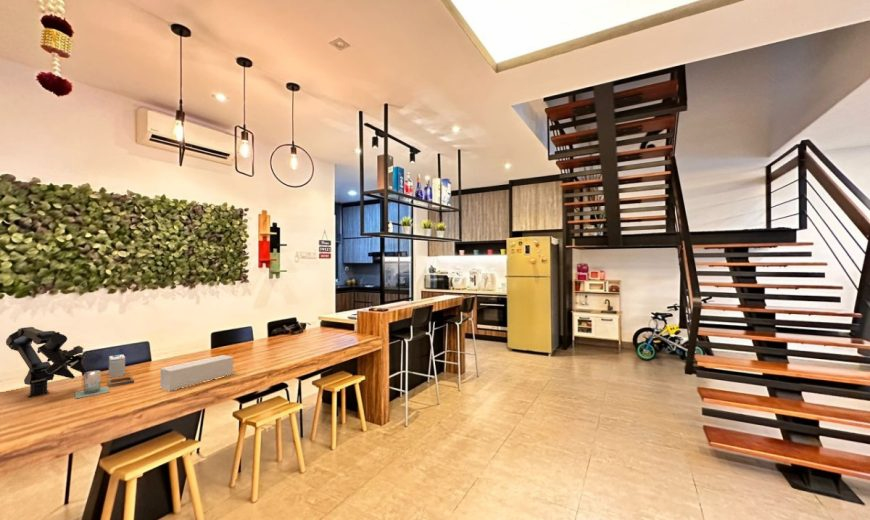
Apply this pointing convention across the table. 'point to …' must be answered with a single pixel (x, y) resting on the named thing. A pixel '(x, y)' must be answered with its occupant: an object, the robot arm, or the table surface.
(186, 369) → the long grey concrete block
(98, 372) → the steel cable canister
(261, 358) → the table surface
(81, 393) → the mat
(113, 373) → the grey boxy fixture
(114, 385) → the walnut collar
